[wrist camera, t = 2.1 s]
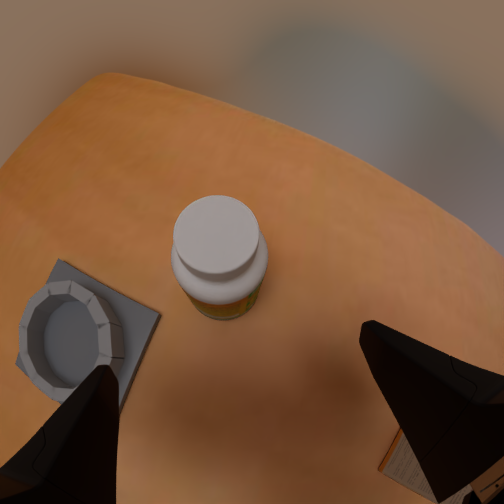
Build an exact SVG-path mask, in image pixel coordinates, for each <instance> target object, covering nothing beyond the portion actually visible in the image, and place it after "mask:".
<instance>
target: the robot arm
mask: <svg viewBox="0 0 504 504" xmlns="http://www.w3.org/2000/svg"><path fill="white" fill-rule="evenodd" d="M359 343H360V346H361V349H362V351H363V353H364V356H365V358H366V361H367V363H368V365H369V368H370V370H371V373H372V375H373V377H374V379H375V381H376V383H377V385H378V386H379V388H380V390H381V392H382V394H383V396H384V397H385V399H386V401H387V403H388V405H389V407H390V408H391V410H392V412H393V414H394V416H395V418H396V420H397V422H398V423H399V425H400V427H401V429H402V431H403V433H404V435H405V437H406V439H407V441H408V443H409V445H410V447H411V449H412V451H413V453H414V455H415V457H416V459H417V461H418V462H419V465H420V467H421V469H422V471H423V473H424V475H425V477H426V479H427V481H428V483H429V486H430V488H431V490H432V492H433V494H434V496H435V498H436V500H437V502H438V504H440V503H441V502H443V501H445V500H446V499H448V498H449V497H451V496H452V495H454V494H455V493H457V492H458V491H460V490H461V489H463V488H464V487H466V486H467V485H468V484H470V486H471V487H472V489H473V490H472V491H470V492H469V493H468V494H466V495H465V496H464V498H463V501H462V504H504V376H503V375H500V374H497V373H494V372H491V371H488V370H485V369H482V368H479V367H477V366H474V365H471V364H468V363H466V362H464V361H461V360H459V359H457V358H455V357H452V356H449V355H448V354H446V353H444V352H441V351H439V350H437V349H435V348H433V347H431V346H428V345H426V344H424V343H422V342H420V341H418V340H415V339H413V338H411V337H409V336H407V335H405V334H403V333H400V332H398V331H396V330H394V329H392V328H390V327H388V326H385V325H383V324H381V323H379V322H377V321H375V320H370V321H366V322H364V323H363V324H362V327H361V332H360V338H359ZM118 433H119V382H118V379H117V378H116V376H115V374H114V372H113V370H112V369H111V367H110V366H109V365H107V364H104V365H98V366H96V368H95V369H94V370H93V371H92V372H91V373H90V374H89V375H88V376H87V377H86V378H85V379H84V380H83V381H82V383H81V384H80V385H79V386H78V387H77V388H76V389H75V390H74V391H73V392H72V393H71V395H70V396H69V397H68V398H67V399H66V400H65V401H64V402H63V403H62V404H61V406H60V407H59V408H58V409H57V410H56V411H55V412H54V413H53V415H52V416H51V417H50V418H49V419H48V420H47V421H46V422H45V424H44V425H43V426H42V427H41V428H40V429H39V430H38V431H37V433H36V434H35V435H34V436H33V437H32V438H31V439H30V440H29V441H28V442H27V443H26V444H25V445H24V446H23V447H22V448H21V449H20V450H19V451H18V452H17V453H16V454H15V455H14V456H13V457H12V458H11V459H10V460H9V461H8V462H7V463H5V464H4V465H3V466H2V467H1V468H0V504H116V468H117V447H118Z"/></svg>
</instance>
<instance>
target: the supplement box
mask: <svg viewBox="0 0 504 504" xmlns="http://www.w3.org/2000/svg"><path fill="white" fill-rule="evenodd" d="M379 471H380V472H382V473H383V474H385V475H386V476H388V477H389V478H391V479H393V480H395V481H396V482H398V483H400V484H401V485H403V486H405V487H406V488H408V489H410V490H412V491H414V492H415V493H417V494H419V495H421V496H423V497H425V498H427V499H428V500H430V501H432V502H434V503H436V504H438V502H437V500H436V498H435V496H434V494H433V492H432V490H431V488H430V486H429V483H428V481H427V479H426V477H425V475H424V473H423V471H422V469H421V467H420V465H419V462H418V461H417V459H416V457H415V455H414V453H413V451H412V449H411V447H410V445H409V443H408V441H407V439H406V437H405V435H404V433H403V431H402V429H400V431H399V433H398V435H397V437H396V438H395V440H394V442H393V444H392V446H391V448H390V450H389V452H388V454H387V455H386V457H385V459H384V461H383V462H382V464H381V466H380V467H379ZM472 490H473V489H472V487H471V486H470V484H468V485H467V486H466V487H464V488H463V489H461V490H460V491H458V492H457V493H455V494H454V495H452V496H451V497H449V498H448V499H446V500H445V501H443V502H441V503H440V504H462V501H463V498H464V496H465V495H466V494H468V493H469V492H470V491H472Z"/></svg>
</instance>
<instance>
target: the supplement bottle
mask: <svg viewBox="0 0 504 504" xmlns="http://www.w3.org/2000/svg"><path fill="white" fill-rule="evenodd" d="M173 240H174V243H173V246H172V251H171V264H172V268H173V272H174V274H175V277H176V279H177V281H178V283H179V285H180V286H181V287H182V289H183V290H184V292H185V293H186V294H187V296H188V297H189V299H190V300H191V302H192V303H193V305H194V306H195V307H196V308H197V309H198V310H199V311H200V312H201V313H202V314H204V315H205V316H207V317H210V318H212V319H216V320H231V319H234V318H237V317H239V316H241V315H243V314H244V313H246V312H247V311H248V310H249V309H250V308H251V307H252V305H253V304H254V302H255V300H256V298H257V296H258V293H259V290H260V286H261V284H262V281H263V278H264V275H265V272H266V269H267V264H268V248H267V244H266V241H265V238H264V236H263V234H262V233H261V231H260V230H259V225H258V222H257V220H256V217H255V216H254V214H253V212H252V211H251V210H250V209H249V208H248V207H247V206H246V205H245V204H243V203H242V202H240V201H239V200H236V199H234V198H231V197H228V196H221V195H214V196H207V197H204V198H201V199H198V200H196V201H194V202H193V203H191V204H190V205H188V206H187V207H186V208H185V209H184V210H183V211H182V212H181V214H180V215H179V217H178V219H177V221H176V223H175V227H174V232H173Z"/></svg>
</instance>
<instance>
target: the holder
mask: <svg viewBox="0 0 504 504" xmlns="http://www.w3.org/2000/svg"><path fill="white" fill-rule="evenodd" d="M160 317H161V315H160V314H159V313H157V312H155V311H153V310H151V309H149V308H147V307H145V306H143V305H141V304H139V303H137V302H135V301H133V300H131V299H129V298H127V297H125V296H123V295H121V294H119V293H118V292H116V291H114V290H112V289H110V288H108V287H107V286H105V285H103V284H101V283H99V282H98V281H96V280H94V279H92V278H91V277H89V276H87V275H85V274H84V273H82V272H80V271H79V270H77V269H75V268H73V267H72V266H70V265H69V264H67V263H65V262H64V261H62V260H60V259H59V258H58V260H57V262H56V264H55V266H54V268H53V270H52V272H51V274H50V276H49V278H48V280H47V283H46V285H45V286H44V287H42V288H41V289H40V290H39V291H38V292H37V293H36V294H34V295H33V296H32V297H31V298H30V300H29V301H28V303H27V306H26V308H25V311H24V313H23V316H22V318H21V321H20V324H19V325H20V326H19V354H18V357H17V360H16V363H15V364H16V365H17V366H18V367H19V368H20V369H21V370H22V371H23V372H24V373H25V374H26V375H27V376H28V377H29V378H30V380H31V381H32V383H33V384H34V385H35V386H37V387H38V388H39V389H40V390H41V391H42V392H44V393H45V394H46V395H47V396H48V397H50V398H51V399H52V400H56V401H58V402H59V403H60V404H62V403H63V402H64V401H65V400H66V399H67V398H68V397H69V396H70V395H71V393H72V392H73V391H74V390H75V389H76V388H77V387H78V386H79V385H80V384H81V383H82V381H83V380H84V379H85V378H86V377H87V376H88V375H89V374H90V373H91V372H92V371H93V370H94V369H95V368H96V366H98V365H104V364H107V365H109V366H110V367H111V369H112V370H113V372H114V374H115V376H116V378H117V379H118V382H119V415H120V412H121V410H122V407H123V405H124V402H125V400H126V397H127V395H128V392H129V390H130V387H131V385H132V382H133V380H134V377H135V375H136V372H137V370H138V368H139V365H140V363H141V360H142V358H143V356H144V353H145V351H146V349H147V346H148V344H149V342H150V340H151V337H152V335H153V333H154V331H155V328H156V326H157V324H158V322H159V319H160Z"/></svg>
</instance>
